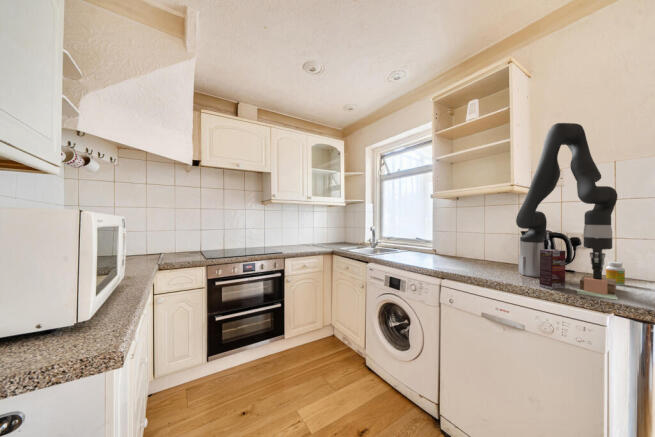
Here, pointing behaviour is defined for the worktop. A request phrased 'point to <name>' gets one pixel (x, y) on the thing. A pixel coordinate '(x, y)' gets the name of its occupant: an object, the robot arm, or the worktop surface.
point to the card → (596, 285)
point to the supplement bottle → (616, 272)
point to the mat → (597, 294)
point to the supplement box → (552, 268)
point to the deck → (610, 281)
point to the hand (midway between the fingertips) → (597, 280)
